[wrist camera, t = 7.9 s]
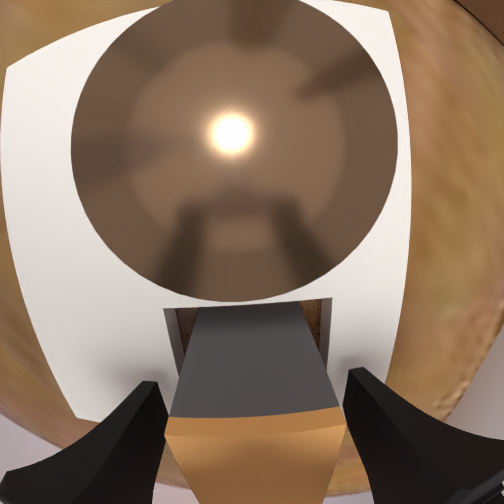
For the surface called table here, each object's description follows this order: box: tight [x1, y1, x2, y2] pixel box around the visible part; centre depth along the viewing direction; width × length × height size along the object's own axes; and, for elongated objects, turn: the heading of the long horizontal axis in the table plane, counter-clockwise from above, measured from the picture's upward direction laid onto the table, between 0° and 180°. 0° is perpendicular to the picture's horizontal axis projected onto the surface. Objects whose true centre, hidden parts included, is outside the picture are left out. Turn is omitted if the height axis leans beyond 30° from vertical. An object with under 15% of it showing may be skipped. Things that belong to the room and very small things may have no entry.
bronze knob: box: [71, 0, 398, 302], centre depth 6 cm, size 5×5×5 cm
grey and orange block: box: [164, 301, 347, 504], centre depth 9 cm, size 4×5×7 cm
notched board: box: [0, 0, 411, 422], centre depth 10 cm, size 16×18×2 cm
